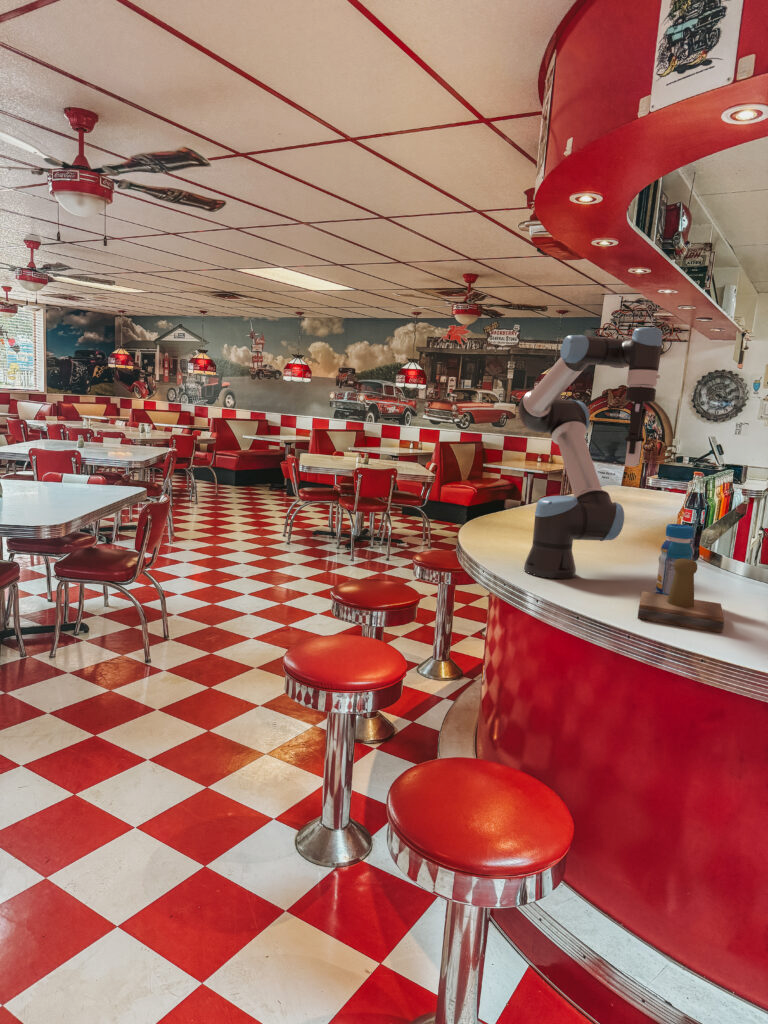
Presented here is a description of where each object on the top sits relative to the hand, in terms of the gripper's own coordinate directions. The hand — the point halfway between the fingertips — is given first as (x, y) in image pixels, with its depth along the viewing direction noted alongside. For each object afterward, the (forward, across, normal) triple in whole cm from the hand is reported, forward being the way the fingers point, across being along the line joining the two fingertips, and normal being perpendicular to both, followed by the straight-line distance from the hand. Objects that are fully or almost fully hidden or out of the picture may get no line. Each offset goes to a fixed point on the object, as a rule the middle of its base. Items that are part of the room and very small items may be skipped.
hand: (632, 465), depth 177 cm
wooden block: (+35, -22, -16) cm, 44 cm away
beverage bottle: (+35, -3, -14) cm, 38 cm away
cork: (+31, -22, -16) cm, 41 cm away
